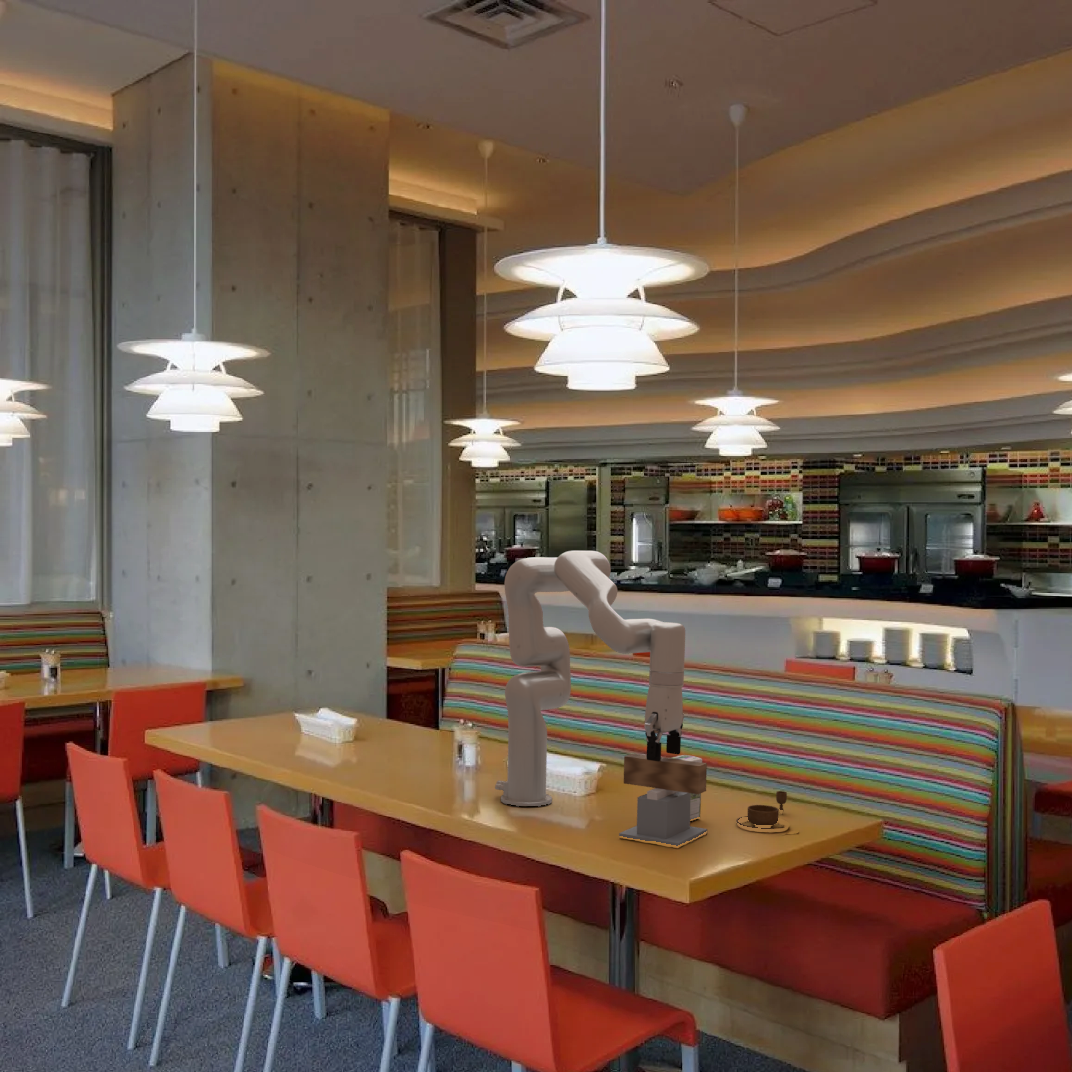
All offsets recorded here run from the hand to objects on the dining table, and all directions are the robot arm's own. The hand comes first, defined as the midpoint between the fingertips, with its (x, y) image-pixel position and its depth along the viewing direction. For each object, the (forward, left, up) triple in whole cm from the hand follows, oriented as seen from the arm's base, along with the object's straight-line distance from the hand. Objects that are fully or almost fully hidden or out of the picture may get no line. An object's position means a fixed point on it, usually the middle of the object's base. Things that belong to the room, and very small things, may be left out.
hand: (663, 756), depth 259 cm
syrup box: (-3, +17, -18) cm, 25 cm away
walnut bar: (0, 0, -7) cm, 7 cm away
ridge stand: (0, 0, -17) cm, 17 cm away
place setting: (+16, +25, -18) cm, 35 cm away
